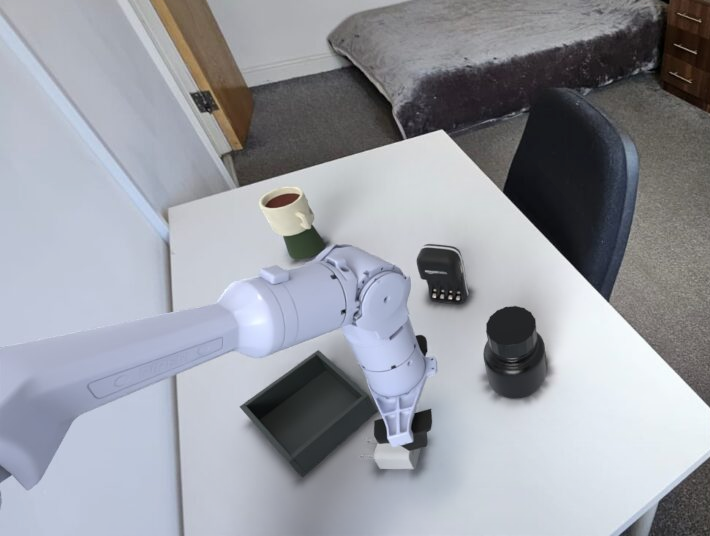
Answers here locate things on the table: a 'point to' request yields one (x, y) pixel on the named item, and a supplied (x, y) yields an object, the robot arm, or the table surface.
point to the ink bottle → (514, 353)
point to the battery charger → (443, 273)
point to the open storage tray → (309, 411)
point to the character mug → (292, 220)
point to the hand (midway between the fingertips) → (416, 415)
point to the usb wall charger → (393, 456)
